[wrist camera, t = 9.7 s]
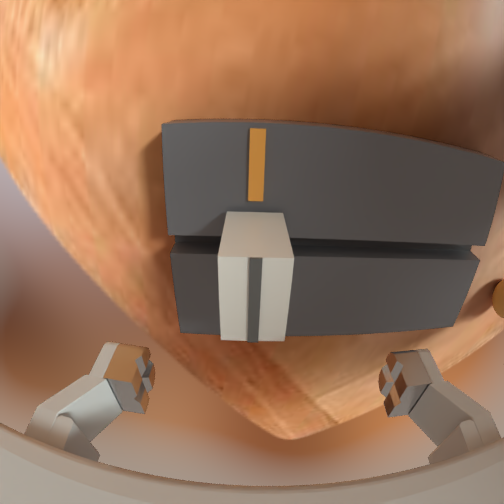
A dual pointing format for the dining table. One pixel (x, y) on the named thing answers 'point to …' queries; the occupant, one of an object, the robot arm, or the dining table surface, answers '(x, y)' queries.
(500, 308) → the figurine
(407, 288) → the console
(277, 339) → the fader tab
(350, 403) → the dining table surface
